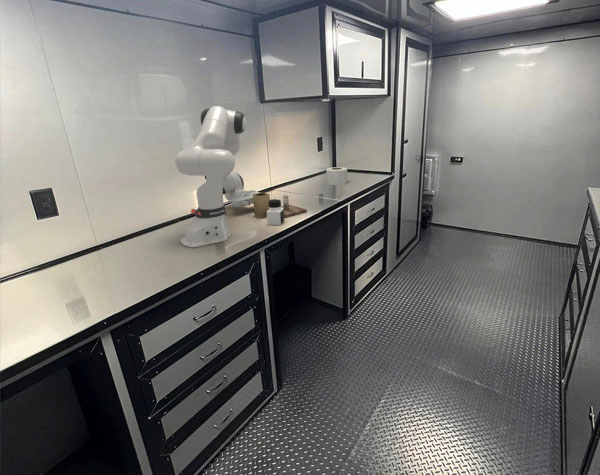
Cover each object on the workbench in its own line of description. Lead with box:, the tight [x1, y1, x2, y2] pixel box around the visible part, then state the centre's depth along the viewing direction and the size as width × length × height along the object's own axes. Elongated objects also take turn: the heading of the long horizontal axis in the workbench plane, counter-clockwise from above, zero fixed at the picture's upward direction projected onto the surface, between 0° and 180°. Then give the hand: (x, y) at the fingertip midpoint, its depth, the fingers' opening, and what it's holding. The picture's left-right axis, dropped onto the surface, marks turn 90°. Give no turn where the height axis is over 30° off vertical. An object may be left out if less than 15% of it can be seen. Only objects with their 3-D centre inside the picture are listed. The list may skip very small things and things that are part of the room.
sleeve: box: [252, 192, 271, 220], centre depth 183 cm, size 6×8×12 cm
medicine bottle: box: [266, 198, 286, 226], centre depth 171 cm, size 7×7×12 cm
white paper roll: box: [325, 166, 348, 186], centre depth 256 cm, size 16×15×11 cm
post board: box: [281, 194, 308, 219], centre depth 188 cm, size 16×16×10 cm
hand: (256, 202), depth 186 cm, fingers open, 8 cm apart
